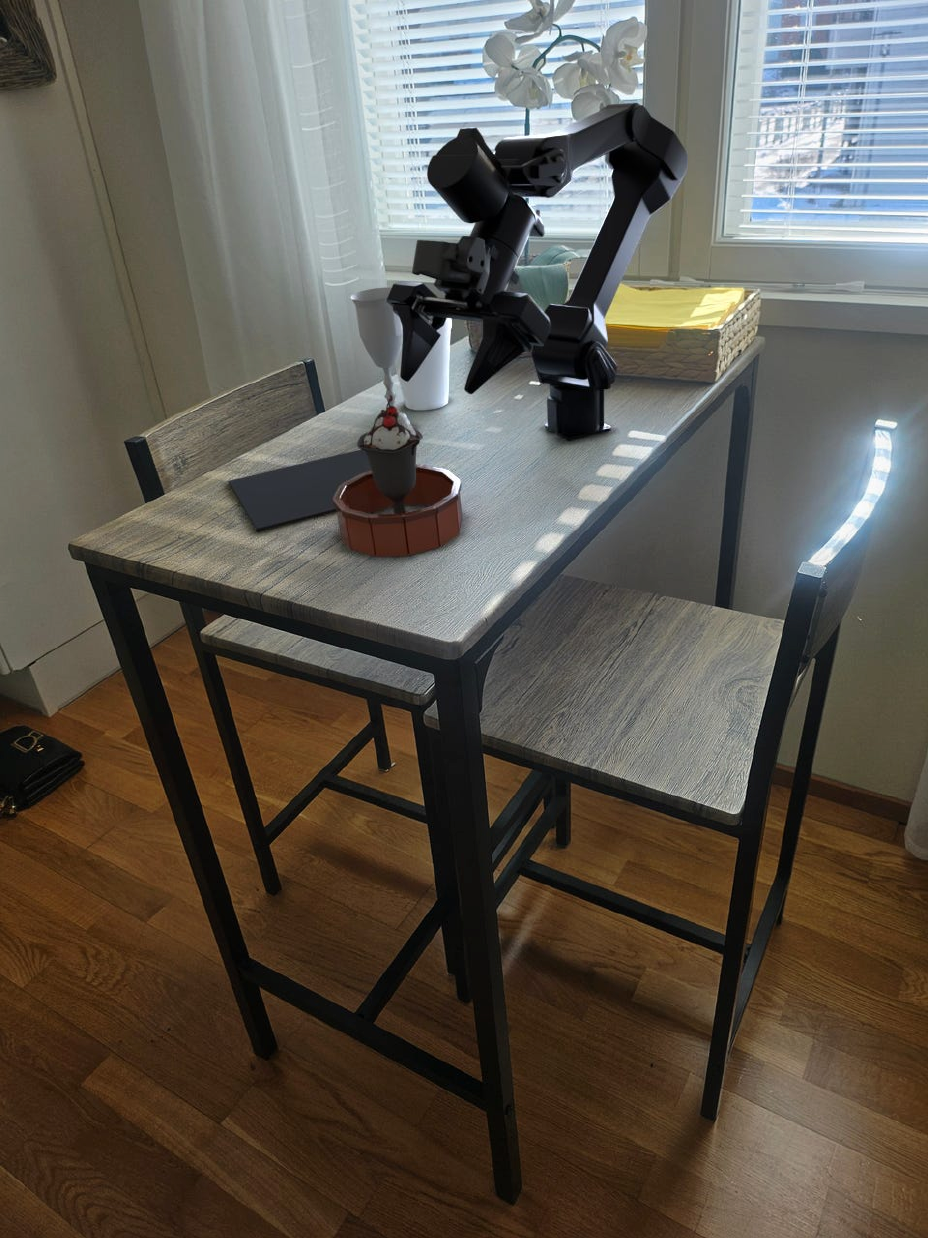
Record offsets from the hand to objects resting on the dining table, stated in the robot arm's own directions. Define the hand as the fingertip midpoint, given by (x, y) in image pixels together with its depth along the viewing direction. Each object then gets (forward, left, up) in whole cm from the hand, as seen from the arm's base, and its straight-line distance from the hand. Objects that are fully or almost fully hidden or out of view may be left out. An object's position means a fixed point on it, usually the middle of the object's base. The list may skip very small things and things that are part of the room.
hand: (434, 385), depth 92 cm
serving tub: (+7, +4, -13) cm, 15 cm away
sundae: (+7, +4, -13) cm, 15 cm away
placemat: (+11, -13, -13) cm, 21 cm away
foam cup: (-11, -34, -13) cm, 38 cm away
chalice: (-3, -26, -13) cm, 29 cm away
